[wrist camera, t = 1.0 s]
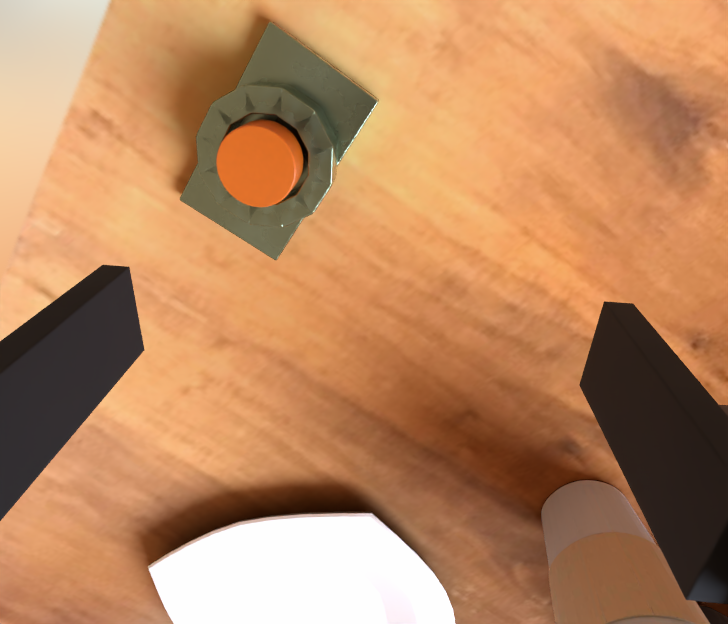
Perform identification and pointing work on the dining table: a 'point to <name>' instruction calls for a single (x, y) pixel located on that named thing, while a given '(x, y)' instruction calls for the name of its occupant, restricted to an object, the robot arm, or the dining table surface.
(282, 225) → the switch block
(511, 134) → the dining table surface
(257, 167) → the round orange push button
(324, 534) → the plate
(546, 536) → the coffee cup
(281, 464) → the dining table surface
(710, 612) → the headphones
